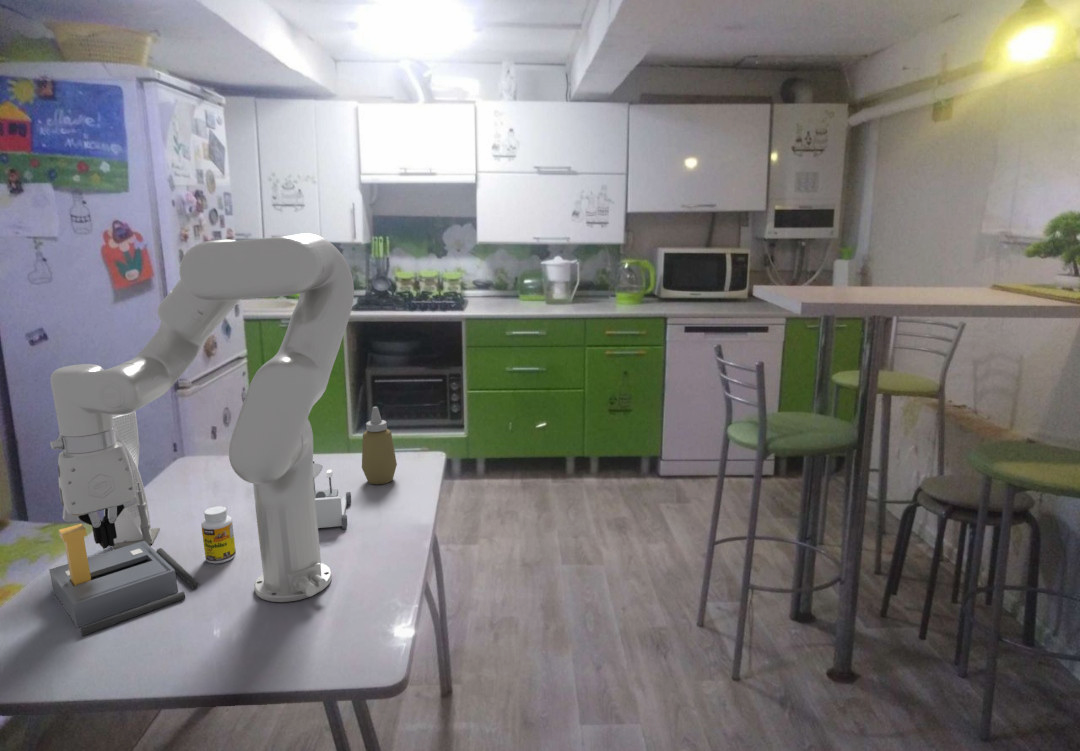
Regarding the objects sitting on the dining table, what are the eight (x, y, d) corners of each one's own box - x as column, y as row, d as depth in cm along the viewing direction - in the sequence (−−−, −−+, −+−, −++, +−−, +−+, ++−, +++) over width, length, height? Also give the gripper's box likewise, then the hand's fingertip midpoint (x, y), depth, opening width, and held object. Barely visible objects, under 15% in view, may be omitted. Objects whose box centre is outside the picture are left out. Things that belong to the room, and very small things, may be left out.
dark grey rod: (199, 586, 125) (198, 580, 125) (191, 589, 125) (191, 583, 124) (163, 553, 138) (162, 547, 138) (156, 555, 137) (155, 549, 137)
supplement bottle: (202, 565, 133) (195, 517, 131) (210, 552, 138) (204, 505, 136) (232, 563, 134) (226, 515, 131) (239, 550, 139) (233, 503, 136)
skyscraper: (103, 551, 139) (79, 410, 133) (114, 533, 147) (92, 399, 140) (152, 544, 142) (131, 405, 135) (160, 527, 149) (141, 395, 143)
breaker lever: (95, 584, 121) (85, 528, 119) (73, 591, 119) (62, 535, 116) (90, 578, 123) (81, 523, 120) (68, 585, 121) (58, 529, 118)
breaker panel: (178, 591, 124) (174, 569, 123) (77, 627, 114) (72, 603, 113) (147, 560, 135) (144, 540, 134) (53, 590, 125) (49, 568, 124)
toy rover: (294, 460, 160) (349, 456, 162) (298, 502, 162) (352, 497, 164) (281, 491, 142) (343, 486, 144) (286, 537, 145) (346, 532, 147)
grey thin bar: (185, 599, 122) (184, 592, 121) (83, 636, 111) (82, 629, 111) (183, 596, 122) (182, 590, 122) (81, 633, 112) (80, 626, 112)
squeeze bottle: (404, 478, 174) (400, 405, 170) (380, 489, 167) (375, 414, 163) (380, 472, 178) (374, 401, 174) (355, 482, 171) (349, 409, 167)
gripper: (40, 457, 111) (60, 568, 115) (146, 435, 121) (161, 537, 125) (29, 446, 116) (49, 552, 120) (132, 426, 126) (147, 524, 130)
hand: (106, 544), depth 123 cm, fingers closed
